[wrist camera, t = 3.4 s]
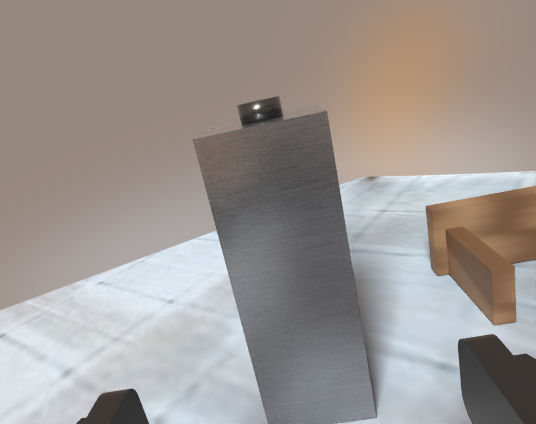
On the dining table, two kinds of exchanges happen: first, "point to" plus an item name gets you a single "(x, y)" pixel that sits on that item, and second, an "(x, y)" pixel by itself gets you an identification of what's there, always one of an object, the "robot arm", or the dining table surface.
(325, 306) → the brushed steel pillar
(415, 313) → the dining table surface
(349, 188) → the dining table surface
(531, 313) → the dining table surface
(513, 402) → the robot arm
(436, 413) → the dining table surface
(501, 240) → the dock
